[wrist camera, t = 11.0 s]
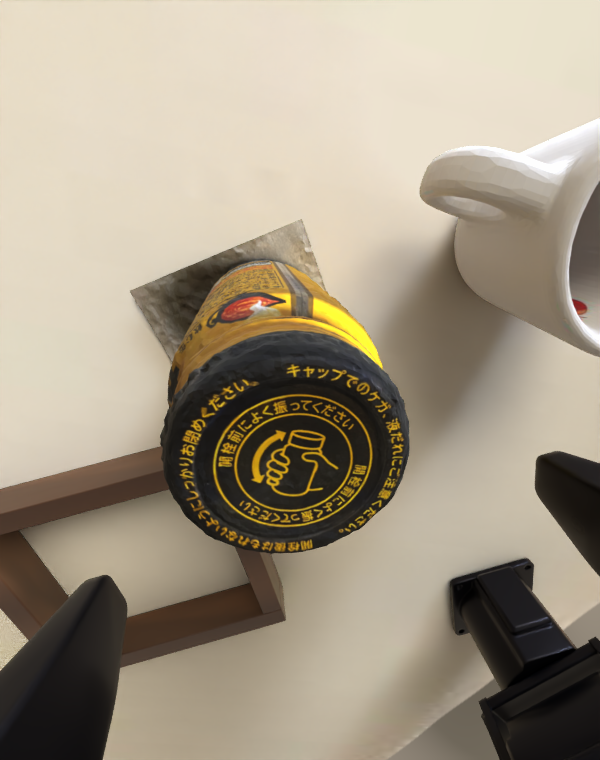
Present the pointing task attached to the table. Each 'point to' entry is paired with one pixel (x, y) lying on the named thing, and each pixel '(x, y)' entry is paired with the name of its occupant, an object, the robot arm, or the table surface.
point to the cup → (529, 229)
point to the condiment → (273, 400)
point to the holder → (144, 631)
